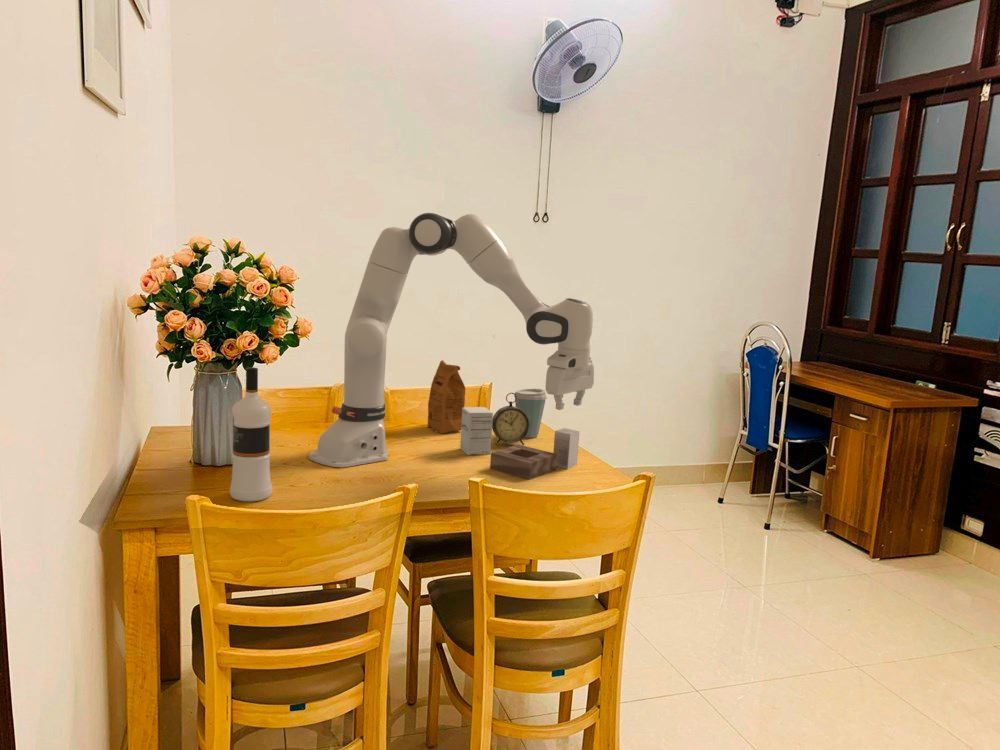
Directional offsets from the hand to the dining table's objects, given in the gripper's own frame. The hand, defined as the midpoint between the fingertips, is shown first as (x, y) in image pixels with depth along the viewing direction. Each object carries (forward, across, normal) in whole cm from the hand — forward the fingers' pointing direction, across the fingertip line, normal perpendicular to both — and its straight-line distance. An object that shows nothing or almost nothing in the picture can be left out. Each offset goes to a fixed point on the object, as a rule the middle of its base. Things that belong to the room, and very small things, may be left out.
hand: (568, 407), depth 211 cm
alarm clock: (+17, -6, -24) cm, 30 cm away
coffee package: (+18, -5, -49) cm, 52 cm away
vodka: (+18, +77, -36) cm, 87 cm away
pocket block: (+17, +12, -6) cm, 21 cm away
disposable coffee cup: (+17, -20, -26) cm, 37 cm away
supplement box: (+17, +8, -26) cm, 32 cm away
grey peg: (+17, 0, 0) cm, 17 cm away
